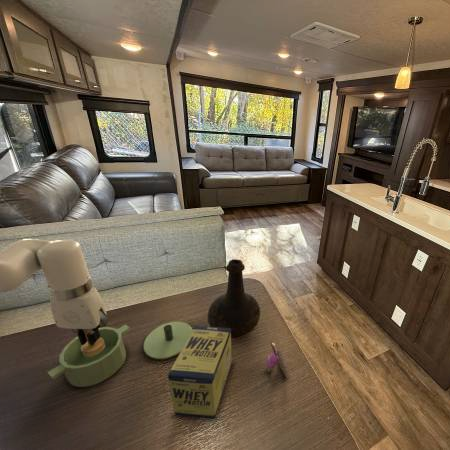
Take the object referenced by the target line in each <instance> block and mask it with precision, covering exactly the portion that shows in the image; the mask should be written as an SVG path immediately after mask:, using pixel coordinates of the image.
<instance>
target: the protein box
mask: <svg viewBox="0 0 450 450" xmlns="http://www.w3.org/2000/svg"><path fill="white" fill-rule="evenodd" d="M232 363H233V361H232V339H231V328H218V327H210V326H207V325H200V324H199V325H198V324H195V325H194V326H193V328H192V332H191V334H190V336H189V337H188V339H187V341H186V343H185V345H184V347H183V348H182V350H181V352H180V353H179V354H178V356H177V358H176V359H175V361H174V363H173V364H172V367H171V368H170V370H169V372H168V374H167V377H168V383H169V389H170V394H171V399H172V405H173V410H174V415H175V416H179V417H189V418H200V419H212V420H214V419H216V417H217V414H218V410H219V407H220V404H221V401H222V398H223V394H224V391H225V388H226V385H227V382H228V378H229V376H230V372H231V369H232Z"/></svg>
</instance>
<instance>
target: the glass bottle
mask: <svg viewBox="0 0 450 450" xmlns="http://www.w3.org/2000/svg"><path fill="white" fill-rule="evenodd" d="M245 267H246V266H245V264H244V263H243V260H241V259H237V258H233V259H230V260H229V261H228V262H227V265H226V266H225V271H226V272H227V274H228V277H227V288H226V292H224V293H223V294H221V295H219V296H218V297H216V298H215V299H214V300H213V301H212V303H211V304H210V306H209V308H208V311H207V323H208V325H209V327H218V328H231V340H232V339H240V338H242V337H245V336H247V335H248V334H249V333H251V332H252V331H253V330H254V329H255V328H256V327H257V325H258V323H259V321H260V318H261V308H260V304H259V302H258V300H257V299H256V298H255V297H254V296H253V295H251V294H249V293H247V292H245V287H244V286H245V285H244V276H243V272H244V270H245Z"/></svg>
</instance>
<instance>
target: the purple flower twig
mask: <svg viewBox="0 0 450 450" xmlns="http://www.w3.org/2000/svg"><path fill="white" fill-rule="evenodd" d="M269 344H270V347H271V348H272V351H271V353H270V354H269V355H268V357H267V359H266V366H267V368H268V369H267V373H270V371H271V369H276V365H278V367H279V369H280V372H281V374H282V376H283V377H284V379H287V377H286V374H285V371H284V368H283V365H282V363H281V361H280V359H279V357H280V356H279V354H278V351H277V348H276V343H274V342H272V341H270V342H269Z"/></svg>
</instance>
